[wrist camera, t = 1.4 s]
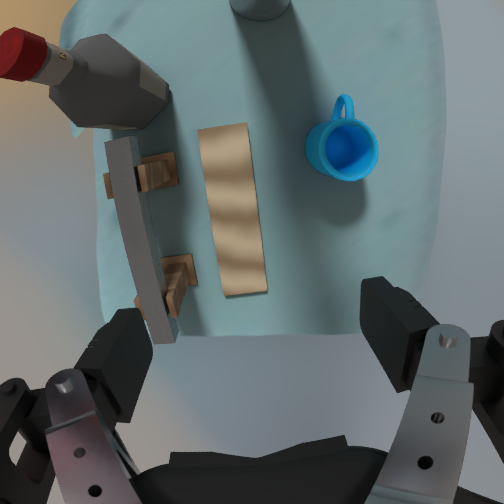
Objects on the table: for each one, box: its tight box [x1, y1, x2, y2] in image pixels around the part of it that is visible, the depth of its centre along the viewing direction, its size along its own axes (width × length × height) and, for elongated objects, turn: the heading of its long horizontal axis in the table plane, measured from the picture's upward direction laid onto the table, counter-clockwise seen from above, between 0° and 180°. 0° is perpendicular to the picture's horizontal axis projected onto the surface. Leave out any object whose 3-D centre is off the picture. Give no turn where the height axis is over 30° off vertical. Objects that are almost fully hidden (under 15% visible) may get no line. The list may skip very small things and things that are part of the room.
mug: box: [305, 94, 378, 181], centre depth 39 cm, size 12×8×8 cm
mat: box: [198, 123, 267, 296], centre depth 45 cm, size 26×7×1 cm, turn 7°
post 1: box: [103, 151, 179, 199], centre depth 37 cm, size 5×7×12 cm
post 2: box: [134, 254, 198, 320], centre depth 43 cm, size 5×7×12 cm
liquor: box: [0, 27, 169, 130], centre depth 25 cm, size 9×9×30 cm
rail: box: [104, 136, 179, 344], centre depth 35 cm, size 26×3×3 cm, turn 7°
